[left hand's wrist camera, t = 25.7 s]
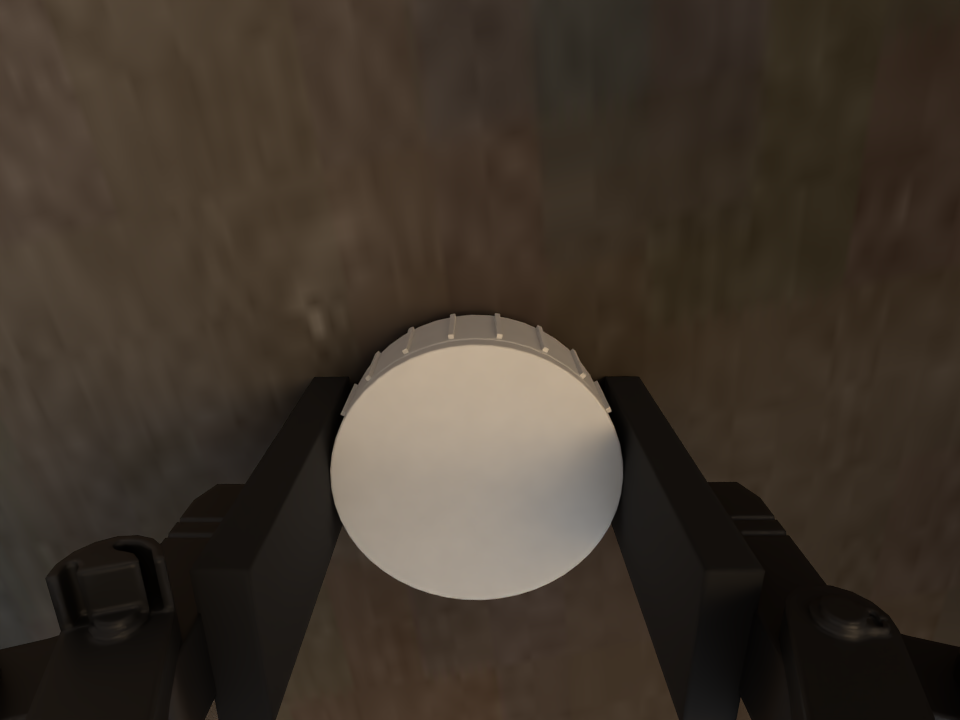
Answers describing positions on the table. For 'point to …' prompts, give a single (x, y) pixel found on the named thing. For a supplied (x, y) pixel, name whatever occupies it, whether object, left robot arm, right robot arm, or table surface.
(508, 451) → the lid
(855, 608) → the left robot arm
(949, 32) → the table surface
